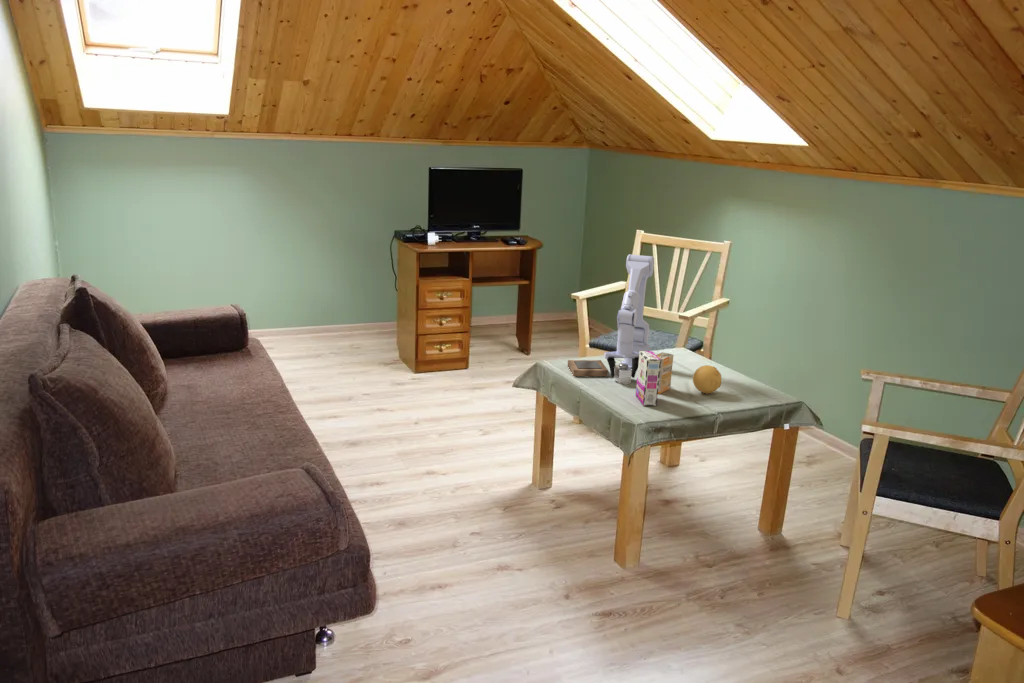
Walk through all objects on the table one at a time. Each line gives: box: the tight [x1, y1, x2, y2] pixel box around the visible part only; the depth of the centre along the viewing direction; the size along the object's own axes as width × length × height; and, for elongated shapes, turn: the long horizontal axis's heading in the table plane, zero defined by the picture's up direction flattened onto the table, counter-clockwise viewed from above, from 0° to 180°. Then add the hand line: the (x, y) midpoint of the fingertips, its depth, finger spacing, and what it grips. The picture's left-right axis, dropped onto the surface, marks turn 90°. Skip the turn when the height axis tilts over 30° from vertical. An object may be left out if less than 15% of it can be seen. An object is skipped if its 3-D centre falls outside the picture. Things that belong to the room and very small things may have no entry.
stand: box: [567, 359, 609, 378], centre depth 302 cm, size 13×13×3 cm
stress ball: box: [692, 365, 722, 395], centre depth 282 cm, size 10×10×10 cm
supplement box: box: [655, 352, 675, 395], centre depth 282 cm, size 8×5×13 cm, turn 143°
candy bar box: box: [635, 350, 661, 407], centre depth 271 cm, size 11×5×16 cm, turn 5°
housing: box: [614, 362, 632, 385], centre depth 293 cm, size 5×9×6 cm, turn 6°
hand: (622, 376), depth 293 cm, fingers open, 7 cm apart
